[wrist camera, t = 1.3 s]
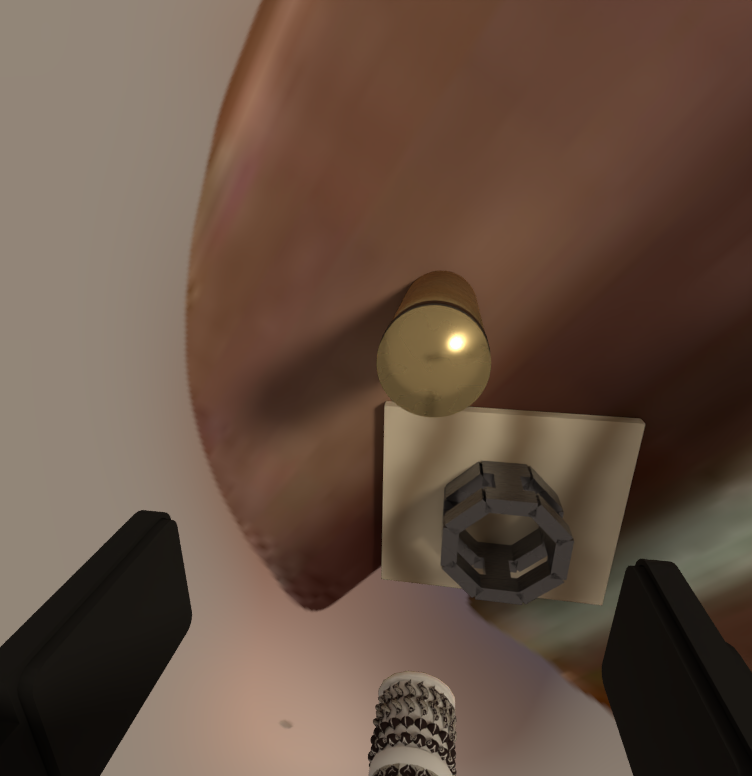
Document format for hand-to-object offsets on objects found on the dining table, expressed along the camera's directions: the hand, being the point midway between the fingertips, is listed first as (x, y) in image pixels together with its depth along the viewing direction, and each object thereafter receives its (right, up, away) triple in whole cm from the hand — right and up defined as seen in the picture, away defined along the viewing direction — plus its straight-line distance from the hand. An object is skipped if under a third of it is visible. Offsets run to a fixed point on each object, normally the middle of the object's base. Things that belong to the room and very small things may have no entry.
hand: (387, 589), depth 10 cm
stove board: (+10, -6, +32) cm, 34 cm away
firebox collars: (+10, -6, +32) cm, 34 cm away
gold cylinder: (+5, +10, +26) cm, 29 cm away
